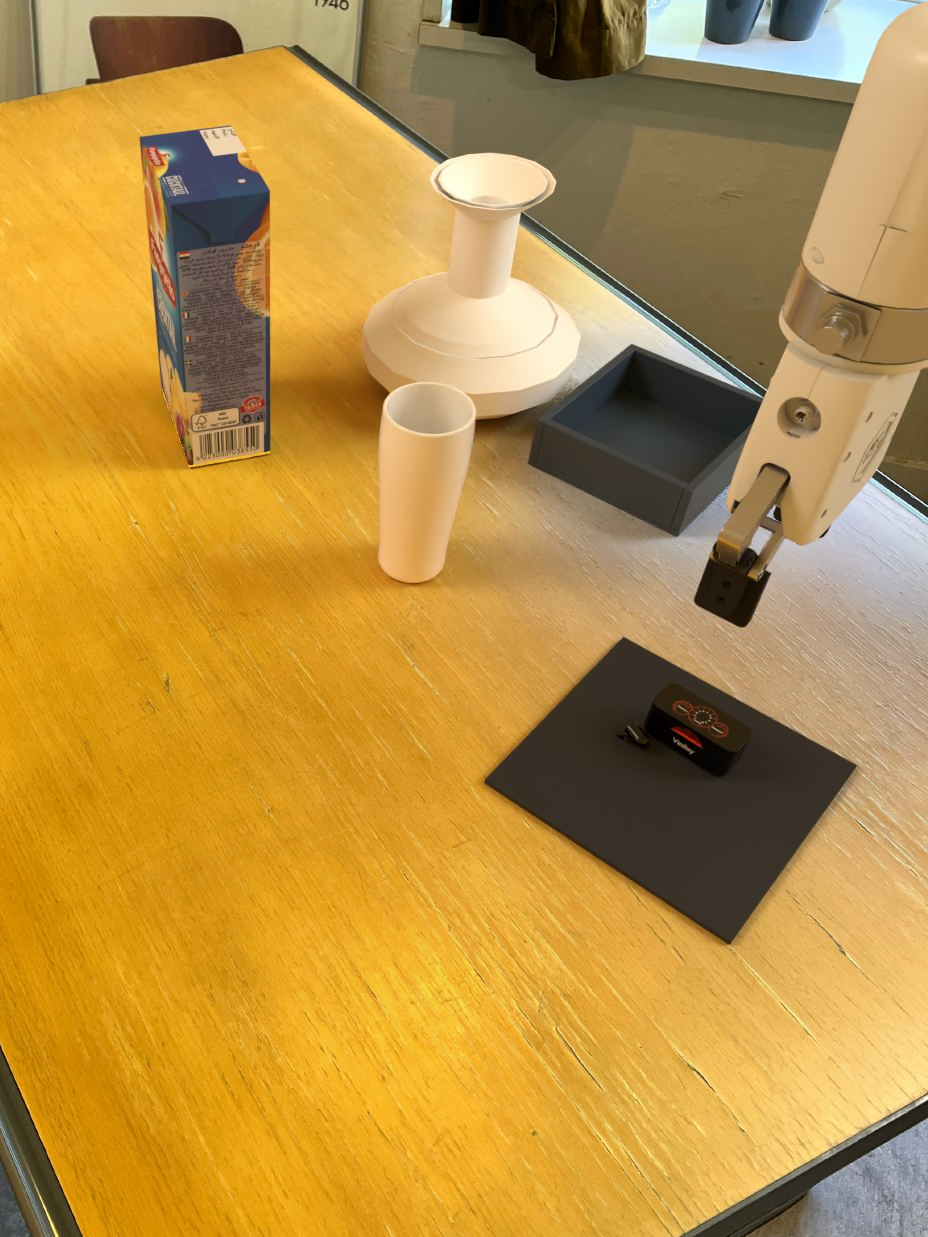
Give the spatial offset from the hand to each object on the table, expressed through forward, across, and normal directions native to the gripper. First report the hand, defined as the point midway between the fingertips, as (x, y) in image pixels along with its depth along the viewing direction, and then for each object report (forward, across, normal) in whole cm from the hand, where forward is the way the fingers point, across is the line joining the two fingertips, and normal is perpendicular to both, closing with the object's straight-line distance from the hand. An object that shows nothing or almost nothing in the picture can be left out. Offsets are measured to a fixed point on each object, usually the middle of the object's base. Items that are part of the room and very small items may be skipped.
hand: (760, 568), depth 66 cm
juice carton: (+16, +5, +50) cm, 53 cm away
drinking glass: (+17, +2, +26) cm, 31 cm away
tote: (+17, +27, +18) cm, 37 cm away
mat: (+17, -3, 0) cm, 17 cm away
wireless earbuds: (+16, -1, 0) cm, 17 cm away
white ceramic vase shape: (+17, +26, +38) cm, 49 cm away
